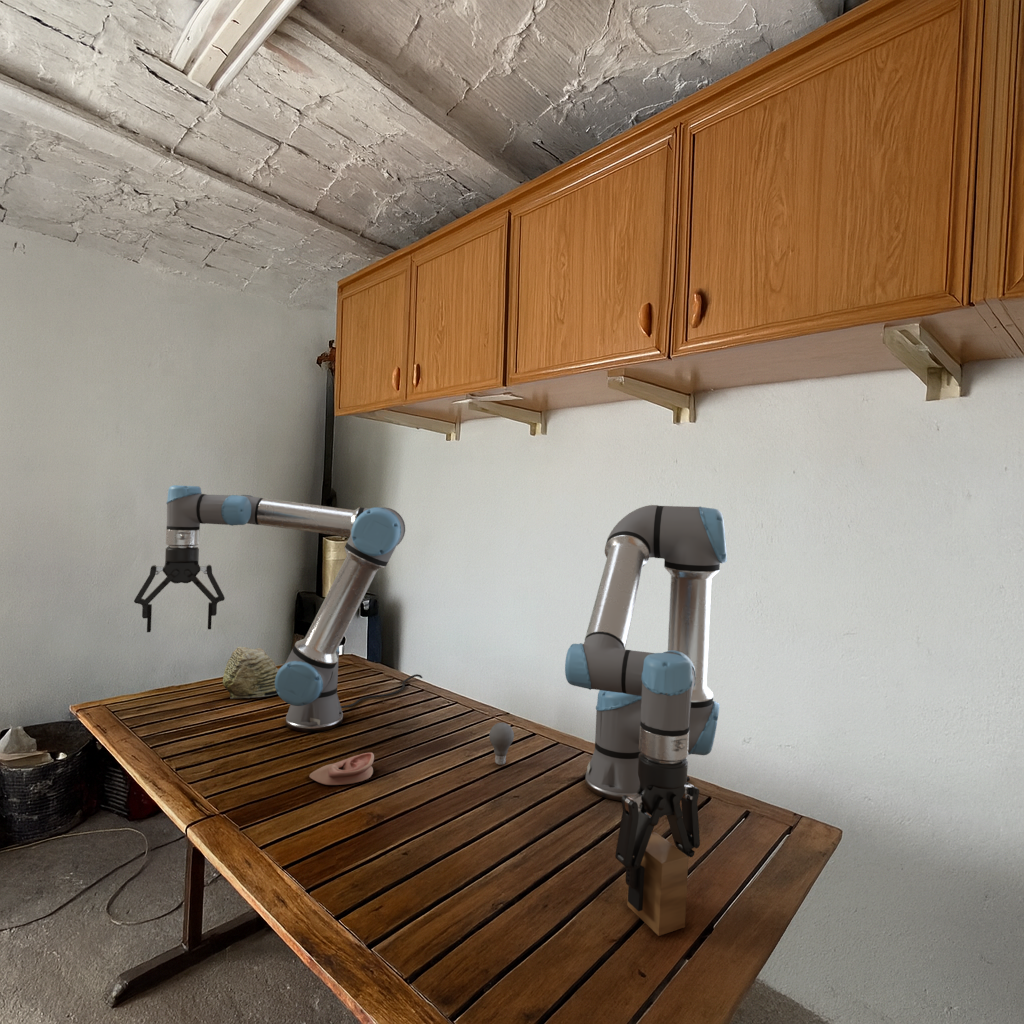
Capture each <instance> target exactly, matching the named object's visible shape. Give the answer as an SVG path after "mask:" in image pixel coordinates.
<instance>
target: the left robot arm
mask: <svg viewBox="0 0 1024 1024" xmlns="http://www.w3.org/2000/svg"><path fill="white" fill-rule="evenodd" d="M201 524H202V525H205V524H206V525H208V524H209V525H222V526H225V525H226V526H227V525H228V526H233V527H234V526H245V525H246V524H248V525H255V526H265V527H273V528H279V529H287V530H294V531H301V532H308V533H309V532H310V533H317V534H324V535H332V536H340V537H345V538H348V540H347V541H346V543H345V545H344V552H345V554H346V557H345V558H344V560H343V562H342V564H341V566H340V568H339V570H338V571H337V574H336V576H335V578H334V580H333V582H332V584H331V586H330V588H329V590H328V592H327V594H326V596H325V598H324V600H323V602H322V604H321V605H320V608H319V610H318V612H317V614H316V615H315V617H314V619H313V621H312V623H311V625H310V627H309V629H308V631H307V633H306V634H305V637H304V638H303V639H300V640H296V642H295V643H294V645H293V647H292V649H291V651H290V652H289V655H288V657H287V659H286V661H285V663H284V664H282V665H281V666H280V667H279V668H278V669H279V670H278V672H277V675H276V677H275V689H276V691H277V693H278V694H277V695H278V697H279V698H280V699H281V700H282V701H283V702H285V703H286V704H289V708H288V711H287V713H286V715H285V726H286V728H287V729H289V730H291V731H294V732H295V731H296V732H301V733H316V732H325V731H329V730H332V729H335V728H337V727H339V726H340V725H342V723H343V722H344V713H343V709H349V708H352V707H354V706H356V705H357V704H359V702H362V701H364V700H367V699H376V698H383V697H384V698H385V697H389V696H392V695H396V694H398V693H401V692H402V691H403V690H404V689H405V688H406V685H405V683H406V682H408V681H409V680H411V679H413V678H416V677H417V678H418V677H419V678H420V679H423V675H422V674H417V673H416V674H413V675H412V674H411V676H409V677H406V679H404V680H403V681H402V683H401V685H402V686H401V688H399V689H397V690H394V691H392V692H388V693H383V694H374V695H367V696H363V697H361V698H359V699H357V700H355V702H353V703H351V704H345V705H341V702H340V699H339V695H338V682H339V681H338V680H339V678H338V677H339V660H340V659H339V657H340V645H341V642H342V641H343V638H344V637H345V634H346V633H347V630H348V629H349V627H350V625H351V623H352V621H353V619H354V617H355V615H356V613H357V611H358V609H359V608H360V606H361V604H362V602H363V599H364V598H365V595H366V593H367V591H368V590H369V588H370V586H371V584H372V582H373V580H374V578H375V576H376V574H377V572H378V571H379V570H381V569H385V568H386V567H387V565H388V563H389V562H390V559H391V558H392V555H394V552H395V549H396V548H397V547H398V545H399V544H400V543H401V542H402V541H403V539H404V537H405V534H406V523H405V520H404V518H403V516H402V515H401V514H400V513H398V511H397V510H395V509H392V508H389V507H384V506H383V507H380V506H379V507H378V506H377V507H362V506H361V507H360V506H359V507H357V508H356V509H348V508H341V507H336V506H335V507H333V506H326V505H319V504H311V503H304V502H297V501H289V500H283V499H274V498H268V497H259V496H253V495H250V494H239V495H238V494H207V493H202V488H201V487H200V486H197V485H180V484H179V485H175V484H173V485H170V486H169V487H168V490H167V499H166V530H165V534H166V535H165V545H167V547H165V557H164V565H163V566H161V565H160V566H159V565H156V564H152V565H151V567H150V569H149V575H148V576H147V578H146V580H145V582H144V583H143V585H142V586H141V588H140V589H139V591H138V593H137V595H136V596H135V598H134V600H133V602H134V604H137V605H140V606H141V610H142V611H141V617H142V619H147V620H146V622H147V623H146V633H151V632H152V616H153V615H152V613H153V612H152V611H153V604H152V603H151V602H152V601H153V600H154V599H155V598H156V597H157V596H158V595H159V593H161V592H162V591H163V590H164V589H165V588H166V587H167V586H168V585H169V584H170V583H172V584H189V583H191V582H192V583H193V584H194V585H195V586H196V587H197V588H198V589H199V590H200V591H201V593H202V594H204V596H205V597H206V598H207V599H208V600H209V602H208V604H207V605H208V609H207V630H212V617H216V616H217V610H218V603H220V602H223V601H225V599H226V597H225V595H224V592H223V591H222V589H221V587H220V585H219V584H218V582H217V580H216V578H215V576H214V574H213V567H212V565H211V564H207V565H201V566H200V563H199V559H200V548H199V547H197V546H198V545H200V535H201V532H200V531H201V529H200V528H201ZM160 572H162V573H163V574H164V575H165V576H166V577H165V578H164V579H163V580H162V581H161V582H160V583H159V584H158V586H156V587H155V588H154V589H153V591H151V592H150V594H148V596H146V597H145V598H144V595H145V594H146V592H147V591H148V589H149V587H150V586H151V584H152V582H153V581H154V579H155V576H157V575H160ZM200 572H202V573H203V574H204V575H207V578H208V580H209V582H210V583H211V585H212V588H213V589H214V592H215V594H216V595H217V596H215V595H214V594H213V593H212V592H211V591H210V590H209V589H208V588H207V587H206V586H205V585H204V583H203V582H202V581H201V580H200V578H198V577H197V575H198V574H199V573H200Z"/></svg>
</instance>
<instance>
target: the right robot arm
mask: <svg viewBox="0 0 1024 1024" xmlns="http://www.w3.org/2000/svg"><path fill="white" fill-rule="evenodd" d="M727 553H728V552H727V541H726V527H725V520H724V514H723V513H722V511H721V510H719V509H717V508H713V507H706V506H705V507H704V506H683V505H682V506H681V505H678V506H677V505H676V506H675V505H658V504H650V505H644V506H641V507H639V508H636V509H634V510H632V511H631V512H629V513H628V514H626V515H625V516H623V517H622V518H621V520H619V521H618V522H617V523H616V525H614V527H613V528H612V530H611V531H610V533H609V535H608V536H607V538H606V541H605V545H604V556H605V557H606V560H605V564H604V568H603V572H602V575H601V579H600V582H599V586H598V590H597V593H596V597H595V601H594V604H593V609H592V611H591V614H590V618H589V622H588V626H587V629H586V633H585V637H584V642H583V643H582V642H581V643H572V644H570V646H569V648H568V649H567V651H566V656H565V663H564V675H565V678H566V682H567V683H568V684H569V685H571V686H573V687H578V688H582V689H587V690H590V691H591V690H596V691H598V692H597V699H596V706H595V710H596V713H595V714H596V715H595V734H594V735H595V738H594V751H593V753H592V756H591V759H590V761H588V764H587V766H586V771H585V778H584V779H585V780H584V782H585V783H584V784H585V786H586V788H587V789H588V790H589V791H590V792H592V793H593V794H595V795H597V796H599V797H601V798H605V799H608V800H612V801H619V802H621V807H622V814H621V818H620V826H619V830H618V837H617V843H616V847H615V855H614V857H615V859H616V860H617V861H618V862H619V863H620V864H622V865H623V866H624V867H625V879H624V880H625V883H626V885H627V897H628V902H629V903H630V904H631V905H632V906H633V907H634V908H635V909H637V910H638V911H642V910H643V890H644V869H645V868H644V867H643V866H641V862H642V859H643V856H644V853H645V850H646V848H647V845H648V842H649V839H650V836H651V833H653V830H654V827H656V826H657V825H658V824H659V821H660V818H663V817H664V816H665V817H666V819H667V823H668V825H669V829H670V833H671V835H672V836H671V837H672V840H673V843H674V846H675V847H676V848H677V849H679V850H680V851H681V852H683V853H684V854H685V855H687V856H688V861H689V859H690V858H693V857H694V856H695V854H696V853H695V850H693V849H699V847H700V845H701V839H700V838H701V837H700V824H699V808H698V801H699V795H700V789H699V788H698V787H697V786H694V785H693V784H691V783H690V782H689V781H690V780H691V778H690V776H688V770H689V769H688V767H689V764H688V763H689V761H688V759H687V758H688V756H689V755H695V756H708V755H709V754H710V753H711V752H712V750H713V746H714V742H715V737H716V733H717V732H716V731H717V726H718V720H719V715H720V708H721V707H720V703H719V702H717V701H716V700H714V693H713V692H714V691H712V690H711V689H710V687H709V686H708V663H709V642H710V622H711V621H710V619H711V618H710V617H711V599H712V597H711V596H712V579H713V578H714V576H715V575H717V574H718V573H719V572H720V566H721V565H723V564H725V563H727V561H728V554H727ZM651 558H654V559H664V562H663V566H664V567H663V568H664V569H665V570H666V571H667V572H668V574H669V575H670V586H669V587H670V588H669V608H668V609H669V611H668V630H667V631H668V633H667V634H668V635H667V651H662V652H647V651H639V650H632V649H626V647H627V643H628V638H629V633H630V628H631V623H632V619H633V614H634V609H635V604H636V600H637V599H636V598H637V594H638V589H639V584H640V580H641V576H642V569H643V567H645V566H646V565H647V563H648V562H649V560H650V559H651ZM633 856H634V857H633Z"/></svg>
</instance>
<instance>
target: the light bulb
mask: <svg viewBox="0 0 1024 1024" xmlns="http://www.w3.org/2000/svg"><path fill="white" fill-rule="evenodd" d="M488 737H489V741H490V743H491V745H492V747H493V752H494V754H495V757H494V763H495V764H497V765H499V766H503V765H505V764H506V762H507V754H508V753H509V748H510V746H511V745H512V743H513V741H514V738H515V733H514V730H513V727H512V726H511V725H510V724H508V723H506V722H496V723H495V724H494V725H493V726H492V727H491V728H490V729H489V733H488Z"/></svg>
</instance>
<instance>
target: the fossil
mask: <svg viewBox="0 0 1024 1024" xmlns="http://www.w3.org/2000/svg"><path fill="white" fill-rule="evenodd" d="M279 669H280V668H278V667H277V665H276V663H275V662H274V660H273V659H272V658H271V657H270V656H269V655H268V654H267V653H266V652H265V650H264V649H263V648H260V647H258V648H251V647H247V646H246V647H245V646H238V647H237V648H236V649H235V650H233V651H232V653H231V656H230V657H229V659H228V660H227V663H226V666H225V668H224V671H223V675H222V676H223V677H222V685H223V687H224V688H225V690H226V691H228V693H229V698H230V699H250V698H264V697H271V696H275V695H278V693H277V691H276V689H275V677H276V675H277V672H278V670H279Z"/></svg>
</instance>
